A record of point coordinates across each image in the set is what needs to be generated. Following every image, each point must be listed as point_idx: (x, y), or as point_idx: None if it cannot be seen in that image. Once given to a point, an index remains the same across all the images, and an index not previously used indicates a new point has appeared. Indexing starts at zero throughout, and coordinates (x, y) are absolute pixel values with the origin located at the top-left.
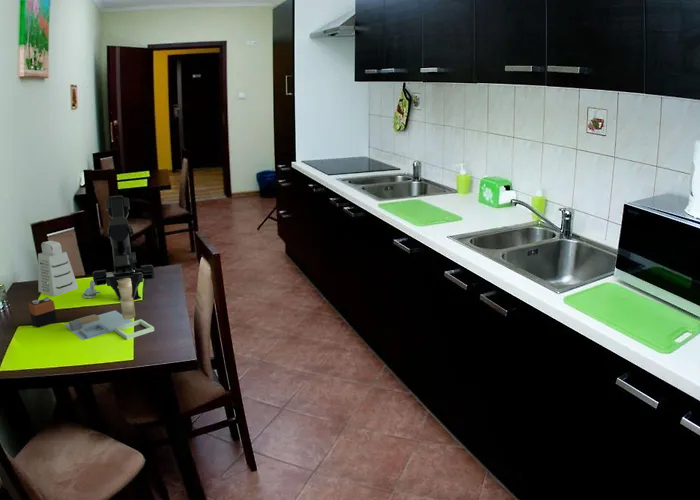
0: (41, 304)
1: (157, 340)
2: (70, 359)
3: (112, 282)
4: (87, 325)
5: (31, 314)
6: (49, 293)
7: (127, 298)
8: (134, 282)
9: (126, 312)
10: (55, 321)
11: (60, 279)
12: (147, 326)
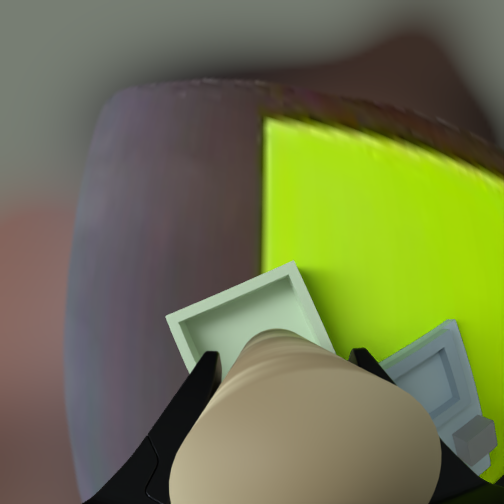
0: None
1: (170, 245)
2: (462, 202)
3: (474, 490)
4: None
5: None
6: None
7: (277, 339)
8: (149, 487)
9: (291, 332)
10: (502, 485)
11: None
12: (195, 356)
